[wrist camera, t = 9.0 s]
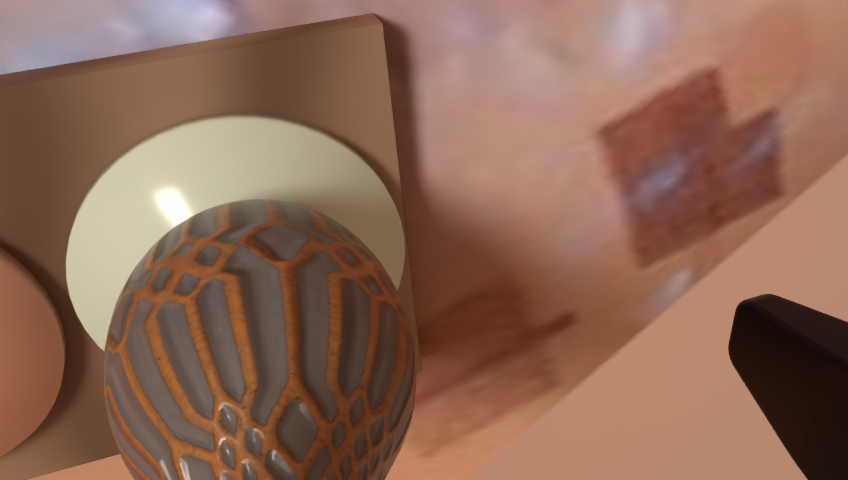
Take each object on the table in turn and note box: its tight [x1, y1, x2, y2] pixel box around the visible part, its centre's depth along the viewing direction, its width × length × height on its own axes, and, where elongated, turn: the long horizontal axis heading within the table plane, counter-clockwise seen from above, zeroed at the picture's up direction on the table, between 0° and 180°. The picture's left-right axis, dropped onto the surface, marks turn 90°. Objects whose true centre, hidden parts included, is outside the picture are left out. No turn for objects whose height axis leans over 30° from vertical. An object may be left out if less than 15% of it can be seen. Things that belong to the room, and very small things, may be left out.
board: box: [0, 13, 422, 480], centre depth 19 cm, size 19×12×1 cm, turn 95°
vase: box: [103, 199, 416, 480], centre depth 15 cm, size 7×7×9 cm
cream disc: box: [66, 112, 405, 351], centre depth 19 cm, size 9×9×1 cm
